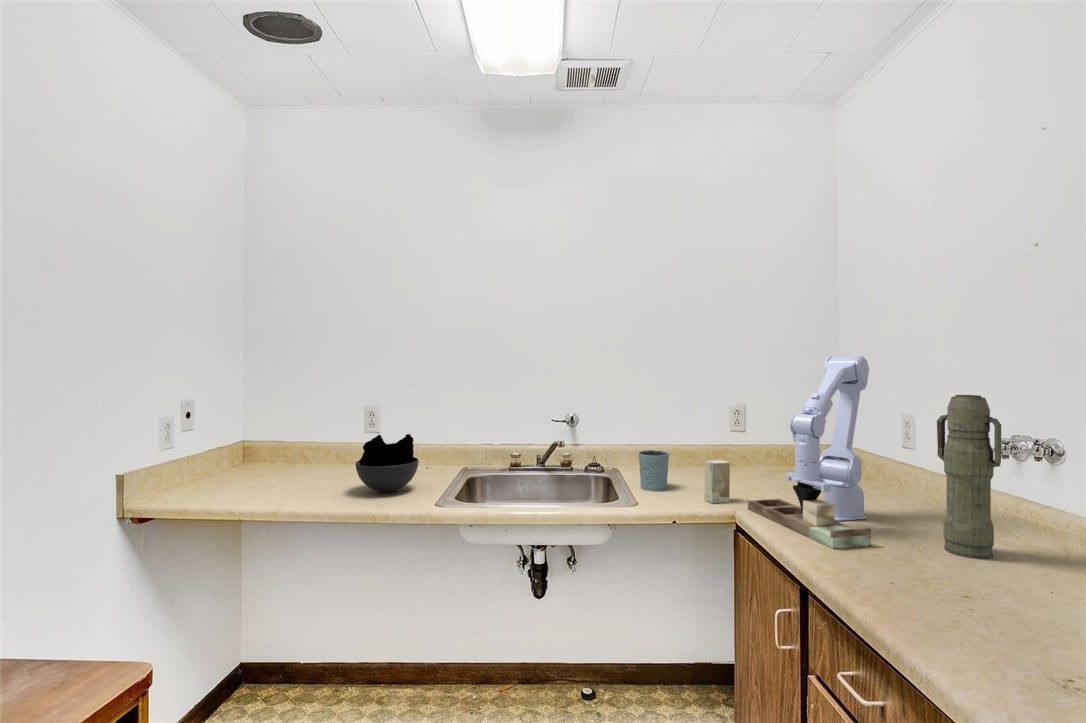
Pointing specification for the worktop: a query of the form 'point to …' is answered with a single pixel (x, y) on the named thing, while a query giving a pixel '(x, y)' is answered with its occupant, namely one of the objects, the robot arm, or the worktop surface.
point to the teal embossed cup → (653, 470)
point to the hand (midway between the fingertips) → (807, 514)
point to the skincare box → (717, 481)
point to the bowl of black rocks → (387, 464)
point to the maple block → (818, 512)
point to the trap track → (793, 520)
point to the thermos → (968, 475)
